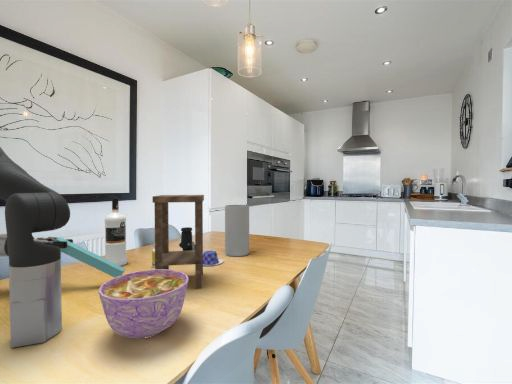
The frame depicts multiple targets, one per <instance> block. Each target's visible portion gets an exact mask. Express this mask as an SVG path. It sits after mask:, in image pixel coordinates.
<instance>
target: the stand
mask: <svg viewBox="0 0 512 384" xmlns="http://www.w3.org/2000/svg"><path fill="white" fill-rule="evenodd" d="M204 201H205V195H204V194H161V195H160V194H159V195H154V196H152V203H154V244H155V247H154V248H155V267H154V270H156V269H166V270H170V266H185V265H186V266H188V265H189V266H190V265H194V267H195V272H194V273H195V277H194V278H195V283H194V284H195V286H194V287H195V289H196V290H199V289H202V288H203V287H202V284H203V281H202V280H203V278H202V276H204V265H203V253H204V242H203V241H204V239H203V238H204V237H203V235H204V234H203V230H204V229H203V227H204V226H203V223H204V221H203V219H204V218H203V216H204V215H203V211H204V209H203V208H204V206H203V205H204V204H203V202H204ZM169 203H194V224H195V225H194V229H195V230H194V240H195V241H194V244H195V250H191V251H183V250H175V251H174V250H171V251H170V250H169V249H170V247H169V244H170V242H169V240H170V239H169V233H170V232H169V231H170V230H169Z"/></svg>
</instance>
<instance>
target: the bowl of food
mask: <svg viewBox="0 0 512 384" xmlns="http://www.w3.org/2000/svg"><path fill="white" fill-rule="evenodd" d="M189 280H190V278H189V277H188V274H186V273H184V272H183V271H179V270H174V269H169V270H166V269H156V270H155V269H147V270H138V271H133V272H129V273H128V272H127V273H125V274H124V273H123V274H122V275H121V276H118V277H115V278H114V277H113V278H111V279H109V280H106V281H105V282H104V283H103V284H101V285H100V286H99V289H98V296H99V299H100V302H101V305H102V310H103V312H104V313H103V314H104V316H105V318H106V322H107V323H108V326H109V327H110V328H111V330H112V331H113V332H114V333H116V334H117V335H118V336H119V335H120V336H121V337H125V338H127V337H128V338H133V339H137V338H142V339H146V338H145V337H148V338H151V337H150V336H152V337H154V336H157V335H158V334H160V333H161V332H162V331H163V332H164V331H165V330H167V328H170V327H171V326H172V325H174V323H176V321H177V320H178V318H179V317H180V314H181V312H182V309H183V307H184V306H183V305H184V302H185V298H186V295H187V294H186V293H187V289H188V285H189ZM156 334H157V335H156ZM153 335H154V336H153Z"/></svg>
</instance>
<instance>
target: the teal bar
mask: <svg viewBox="0 0 512 384" xmlns="http://www.w3.org/2000/svg"><path fill="white" fill-rule="evenodd" d="M66 239H67V238H64V237H62V236H60V237H58V238H57V239H55V241H54V242H58V241H67V248H60V250H61V253H63V254H66V255H67V256H69V257H71V258H73V259H75V260H78V261H80V262H81V263H83V264H85V265H88V266H90V267H92V268H94V269H96V270H98V271H101V272H102V273H104V274H107V275H108V276H110V277H113V278H115V277H118V276H121V275H124V273H125V271H126V268H124V266H123V267H122V266H119V265H117V264H115V263H113V262H111V261H109V260H107V259H105V257H102V256H100V255H98V254H96V253H95V252H93V251H90V250H88V249H86V248H84V247H82V246H79V245H78V244H76V243H74V242H73V243H72V242H70V241H68V240H66Z"/></svg>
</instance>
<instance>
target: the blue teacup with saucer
mask: <svg viewBox="0 0 512 384" xmlns="http://www.w3.org/2000/svg"><path fill="white" fill-rule="evenodd" d="M223 263H224V260H223V259H222V258H218V254H217V251H216V250H205V251H203V267H205V266H206V267H207V266H208V267H209V266H217V265H220V264H223Z"/></svg>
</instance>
